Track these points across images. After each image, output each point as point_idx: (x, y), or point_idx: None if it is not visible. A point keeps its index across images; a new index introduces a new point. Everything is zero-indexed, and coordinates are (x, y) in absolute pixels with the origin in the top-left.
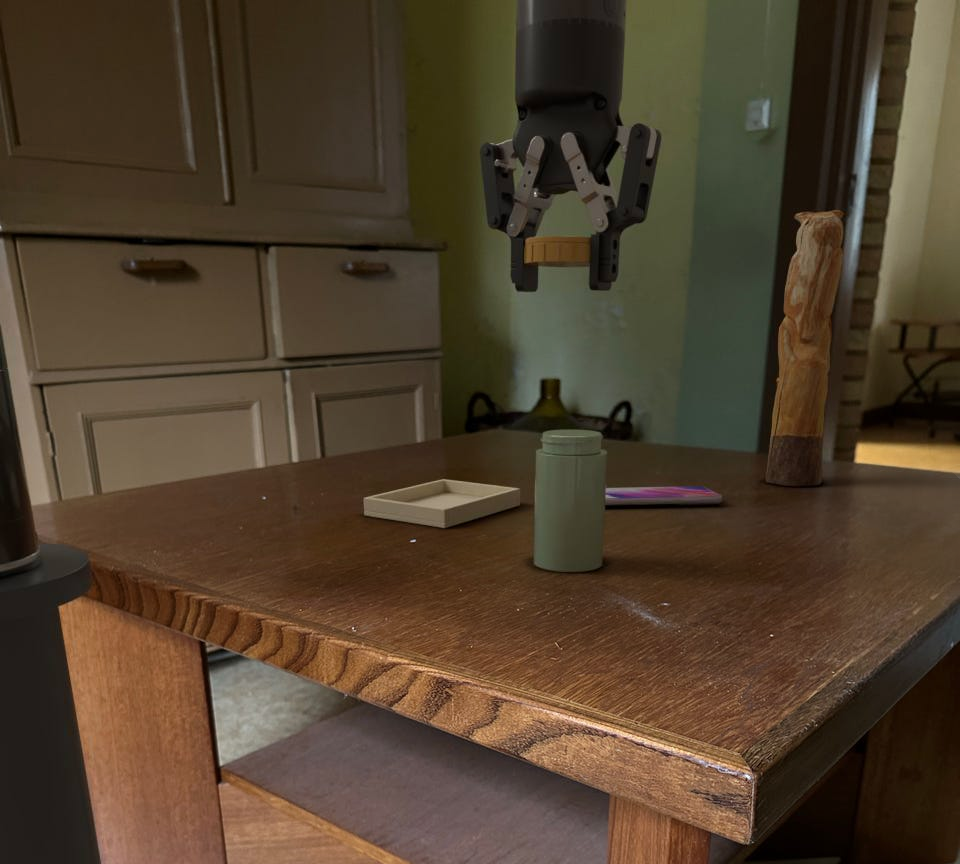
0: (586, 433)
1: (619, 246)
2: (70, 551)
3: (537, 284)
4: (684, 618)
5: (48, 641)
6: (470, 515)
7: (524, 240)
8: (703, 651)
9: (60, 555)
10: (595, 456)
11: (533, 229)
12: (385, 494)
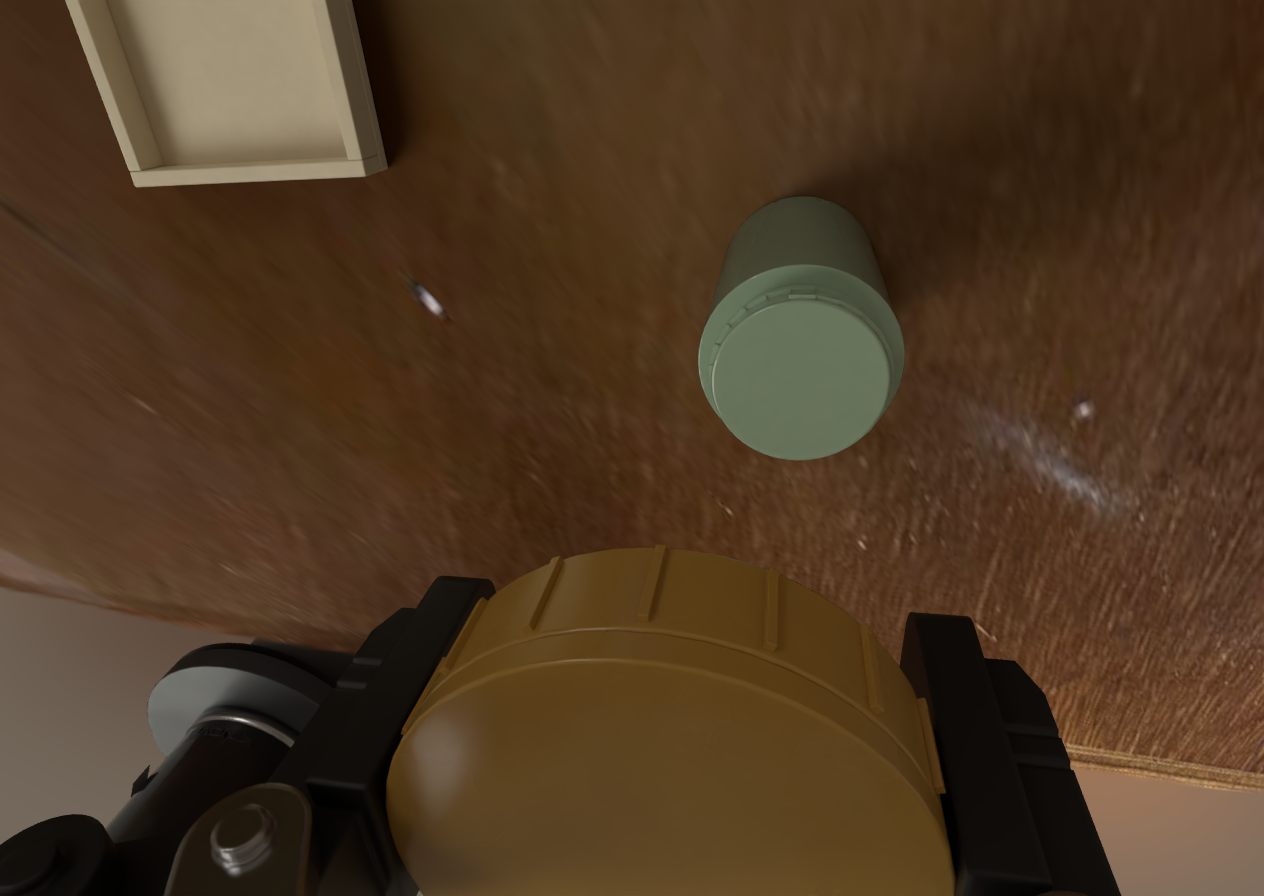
0: (841, 371)
1: (1101, 845)
2: (246, 681)
3: (477, 592)
4: (1137, 461)
5: None
6: (354, 47)
7: (409, 892)
8: (1197, 572)
9: (260, 696)
10: (894, 395)
11: (326, 889)
12: (119, 111)
